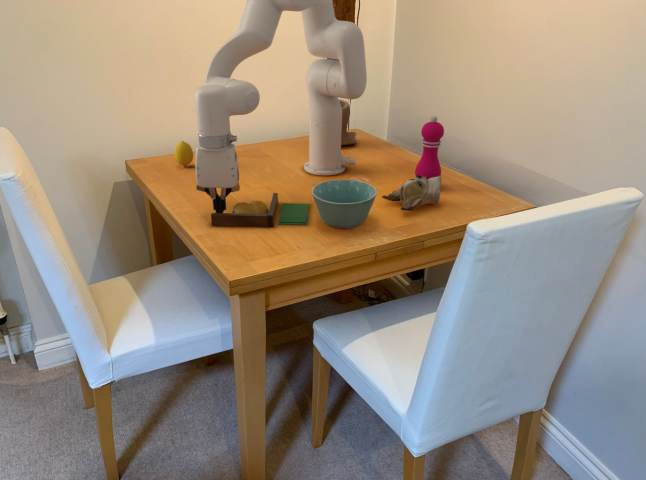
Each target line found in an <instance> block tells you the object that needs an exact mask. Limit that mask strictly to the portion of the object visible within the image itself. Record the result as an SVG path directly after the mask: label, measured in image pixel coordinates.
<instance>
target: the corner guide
mask: <svg viewBox="0 0 646 480" xmlns="http://www.w3.org/2000/svg"><path fill="white" fill-rule="evenodd" d="M278 206H279V193H278V192H273V193H272V196H271V201H270V206H269V208H268V209H269V213H267V214H240V213H233V212H231V213H230V212H225V213H224V212H223V213H216V212H211V214H210V220H211V221H210V222H211V227H232V228H233V227H235V228H236V227H237V228H274V225H275V219H276V216H277V210H278Z"/></svg>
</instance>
